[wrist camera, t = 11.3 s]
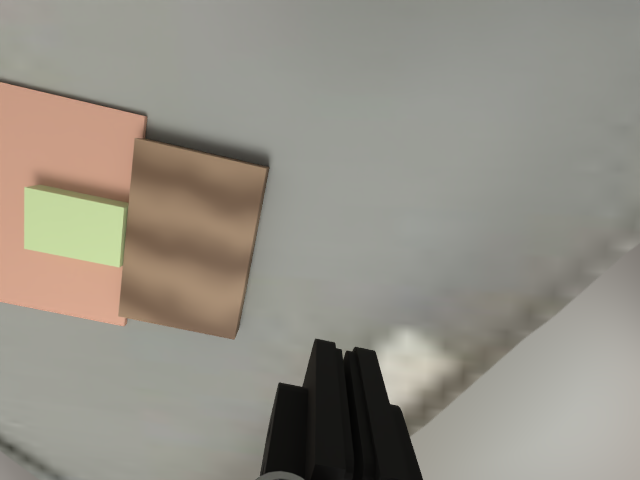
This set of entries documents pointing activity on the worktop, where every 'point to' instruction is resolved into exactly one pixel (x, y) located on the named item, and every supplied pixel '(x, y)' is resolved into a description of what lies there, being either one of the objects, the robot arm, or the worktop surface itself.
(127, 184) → the mat
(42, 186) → the sponge
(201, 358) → the worktop surface
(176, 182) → the plate
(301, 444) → the robot arm
